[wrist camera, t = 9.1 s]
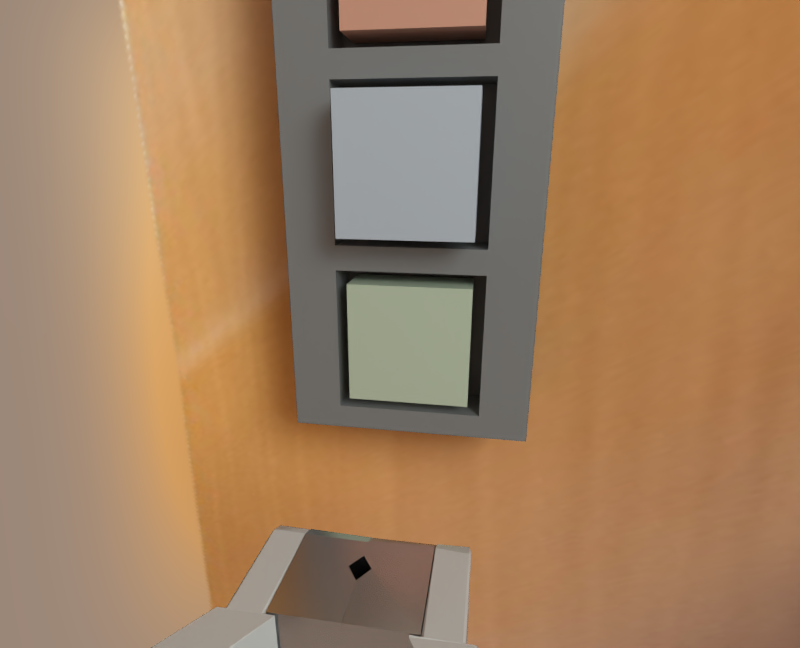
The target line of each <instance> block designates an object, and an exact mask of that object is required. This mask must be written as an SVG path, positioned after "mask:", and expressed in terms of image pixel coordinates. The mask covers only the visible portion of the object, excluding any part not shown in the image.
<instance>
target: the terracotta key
mask: <svg viewBox="0 0 800 648" xmlns="http://www.w3.org/2000/svg"><path fill="white" fill-rule="evenodd" d="M487 1H488V0H339V29H340V31H341V32H342V33H343V34H344V35H345V36H346V37H347V38H348V39H349V40H351V41H352V42H353V43H379V42H411V41H443V40H475V39H486V22H487Z"/></svg>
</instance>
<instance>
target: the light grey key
mask: <svg viewBox="0 0 800 648" xmlns="http://www.w3.org/2000/svg"><path fill="white" fill-rule="evenodd" d="M330 91H331V120H332V150H333V180H334V210H335V239H363V240H400V241H436V242H473V243H475V237H476V221H477V200H478V179H479V158H480V138H481V117H482V96H483V90H482V85H471V86H416V87H361V88H330Z"/></svg>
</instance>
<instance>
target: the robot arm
mask: <svg viewBox="0 0 800 648" xmlns="http://www.w3.org/2000/svg"><path fill="white" fill-rule="evenodd" d="M470 567H471V550H470V548H469V547H460V546H450V545H439V544H437V545H432V544H423V543H414V542H405V541H396V540H387V539H378V538H370V537H363V536H356V535H349V534H342V533H335V532H328V531H321V530H314V529H311V530H308V529H303V528H296V527H289V526H282V525H280V526H279V527H278V528H276V529H275V530H274V531H273V532H272V533H271V535H270V536H269V538H268V540H267V541H266V543H265V545H264V546H263V548H262V550H261V551H260V553H259V555H258V556H257V558H256V560H255V561H254V563H253V564H252V566H251V568H250V569H249V571H248V573H247V574H246V576H245V578H244V579H243V581H242V583H241V584H240V586H239V588H238V589H237V591H236V592H235V594H234V596H233V597H232V599H231V601H230V602H229V604H228V606H227V607H226V608H222V607H215V608H213V609H212V610H210V611H209V612H208V613H206V614H204V615H202V616H201V617H199V618H198V619H196V620H194V621H193V622H191V623H190V624H188V625H186V626H185V627H183V628H182V629H180V630H179V631H177V632H175V633H174V634H172V635H171V636H169V637H167V638H166V639H164V640H163V641H161V642H159V643H158V644H156V645H155V646H153V647H152V648H478V646H476V645H471V644H467V637H468V614H469V591H470Z"/></svg>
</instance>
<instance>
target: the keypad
mask: <svg viewBox="0 0 800 648" xmlns="http://www.w3.org/2000/svg"><path fill="white" fill-rule="evenodd" d="M271 1H272V17H273V33H274V49H275V65H276V81H277V97H278V113H279V129H280V145H281V161H282V177H283V193H284V209H285V225H286V242H287V258H288V274H289V290H290V306H291V322H292V338H293V354H294V370H295V386H296V402H297V418H298V422H299V423H311V424H323V425H335V426H347V427H359V428H371V429H383V430H395V431H407V432H419V433H431V434H442V435H454V436H466V437H478V438H490V439H502V440H514V441H526V435H527V423H528V412H529V401H530V389H531V378H532V367H533V355H534V344H535V332H536V321H537V310H538V298H539V287H540V276H541V264H542V253H543V242H544V230H545V219H546V208H547V196H548V185H549V174H550V162H551V151H552V139H553V128H554V117H555V105H556V94H557V83H558V71H559V60H560V49H561V37H562V26H563V15H564V3H565V0H488V1H487V22H486V39H475V40H443V41H411V42H379V43H353V42H352V41H351V40H349V39H348V38H347V37H346V36H345V35H344V34H343V33H342V32H341V31H340V29H339V0H271ZM471 85H482V90H483V96H482V117H481V138H480V158H479V179H478V200H477V221H476V237H475V243H473V242H436V241H400V240H363V239H335V210H334V180H333V150H332V120H331V91H330V88H361V87H416V86H471ZM358 274H370V275H396V276H423V277H449V278H474V288H473V309H472V329H471V350H470V371H469V390H468V403H467V407H460V406H446V405H433V404H420V403H406V402H393V401H380V400H366V399H353V398H350V390H349V355H348V319H347V283H349V282H350V281H351V280H352V279H353V278H354V277H355V276H357V275H358Z"/></svg>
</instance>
